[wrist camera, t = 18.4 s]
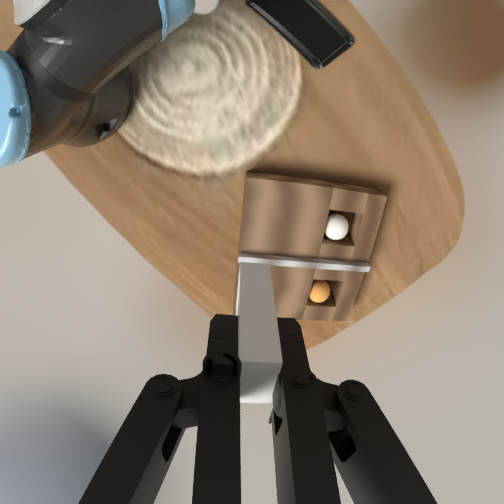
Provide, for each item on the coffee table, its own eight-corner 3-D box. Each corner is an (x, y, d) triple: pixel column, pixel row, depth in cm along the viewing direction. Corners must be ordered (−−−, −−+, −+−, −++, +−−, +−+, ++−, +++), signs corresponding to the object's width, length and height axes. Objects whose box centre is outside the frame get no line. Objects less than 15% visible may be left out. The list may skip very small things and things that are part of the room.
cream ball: (324, 232, 48) (318, 239, 44) (328, 208, 46) (322, 214, 43) (348, 237, 46) (343, 246, 43) (352, 214, 44) (348, 220, 41)
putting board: (233, 303, 54) (232, 320, 49) (246, 171, 42) (246, 179, 38) (342, 308, 55) (349, 325, 51) (378, 189, 44) (390, 199, 40)
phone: (318, 71, 34) (241, 0, 29) (316, 71, 35) (241, 2, 30) (356, 41, 32) (282, -28, 26) (354, 42, 33) (281, -26, 27)
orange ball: (313, 292, 54) (301, 299, 51) (317, 273, 52) (304, 279, 49) (331, 301, 51) (319, 309, 48) (336, 281, 50) (324, 289, 47)
